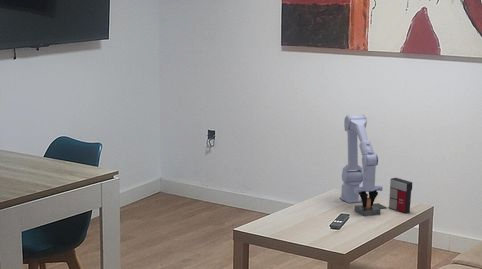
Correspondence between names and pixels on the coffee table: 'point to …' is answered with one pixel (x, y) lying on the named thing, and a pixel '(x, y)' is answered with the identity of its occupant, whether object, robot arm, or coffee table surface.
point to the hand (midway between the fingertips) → (367, 206)
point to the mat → (379, 206)
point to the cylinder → (368, 204)
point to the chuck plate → (367, 210)
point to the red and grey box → (400, 195)
